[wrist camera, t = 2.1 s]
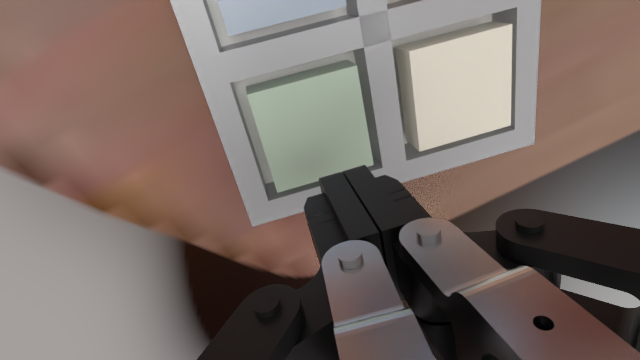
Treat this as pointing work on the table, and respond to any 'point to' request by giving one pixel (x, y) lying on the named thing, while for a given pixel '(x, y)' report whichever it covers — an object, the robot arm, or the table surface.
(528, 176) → the table surface
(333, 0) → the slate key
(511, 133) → the keypad
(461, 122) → the cream key
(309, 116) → the sage key
